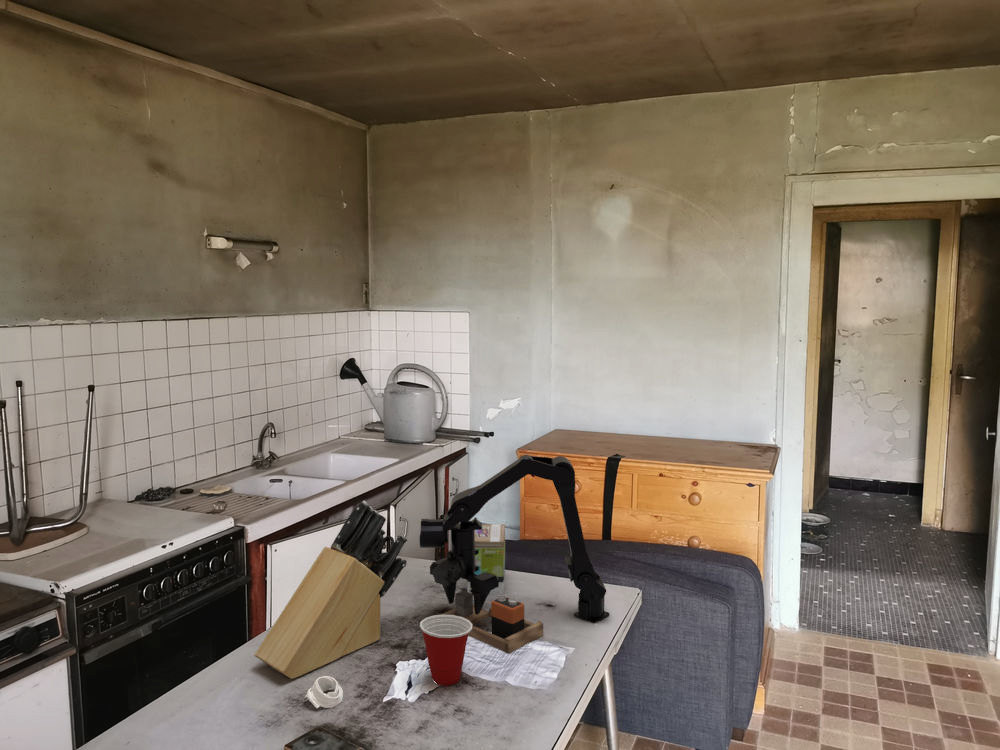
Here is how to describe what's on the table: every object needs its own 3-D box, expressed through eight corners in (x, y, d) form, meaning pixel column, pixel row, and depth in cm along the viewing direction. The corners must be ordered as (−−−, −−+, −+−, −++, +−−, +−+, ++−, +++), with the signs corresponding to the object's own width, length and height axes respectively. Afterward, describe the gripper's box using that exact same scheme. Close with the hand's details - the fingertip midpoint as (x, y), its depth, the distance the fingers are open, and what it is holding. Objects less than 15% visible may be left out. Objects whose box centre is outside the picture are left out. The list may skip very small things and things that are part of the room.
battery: (512, 648, 169) (512, 605, 168) (490, 639, 174) (490, 597, 172) (525, 641, 172) (525, 599, 171) (503, 632, 177) (503, 591, 176)
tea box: (505, 595, 198) (504, 540, 196) (466, 595, 198) (465, 540, 197) (505, 573, 213) (505, 522, 211) (469, 573, 213) (469, 522, 211)
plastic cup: (483, 681, 155) (482, 625, 153) (437, 698, 149) (436, 640, 147) (456, 660, 164) (455, 607, 162) (411, 675, 158) (410, 620, 156)
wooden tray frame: (470, 605, 191) (469, 582, 191) (543, 635, 175) (543, 610, 174) (435, 620, 183) (435, 596, 182) (508, 653, 166) (508, 627, 166)
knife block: (413, 627, 180) (410, 500, 176) (283, 686, 154) (277, 539, 150) (382, 614, 187) (378, 492, 184) (253, 668, 161) (246, 527, 158)
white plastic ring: (327, 691, 154) (326, 667, 154) (352, 697, 150) (351, 673, 150) (298, 707, 147) (297, 682, 147) (324, 714, 143) (322, 688, 143)
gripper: (412, 546, 183) (413, 608, 185) (465, 565, 170) (466, 631, 172) (446, 535, 191) (447, 594, 193) (500, 552, 178) (500, 615, 180)
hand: (464, 608), depth 184 cm, fingers open, 9 cm apart
